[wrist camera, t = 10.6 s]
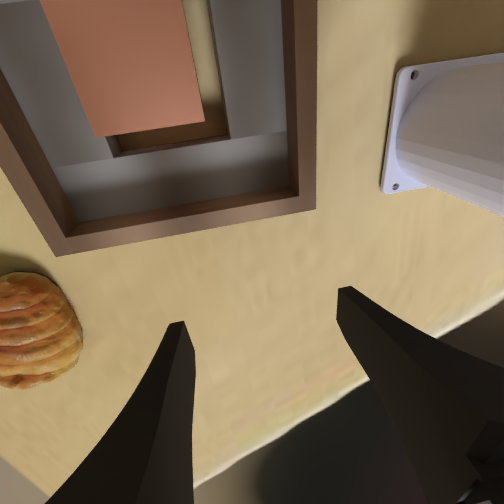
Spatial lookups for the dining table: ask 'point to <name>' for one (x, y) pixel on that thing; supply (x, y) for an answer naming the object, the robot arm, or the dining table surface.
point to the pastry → (35, 331)
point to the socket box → (169, 155)
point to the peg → (128, 62)
